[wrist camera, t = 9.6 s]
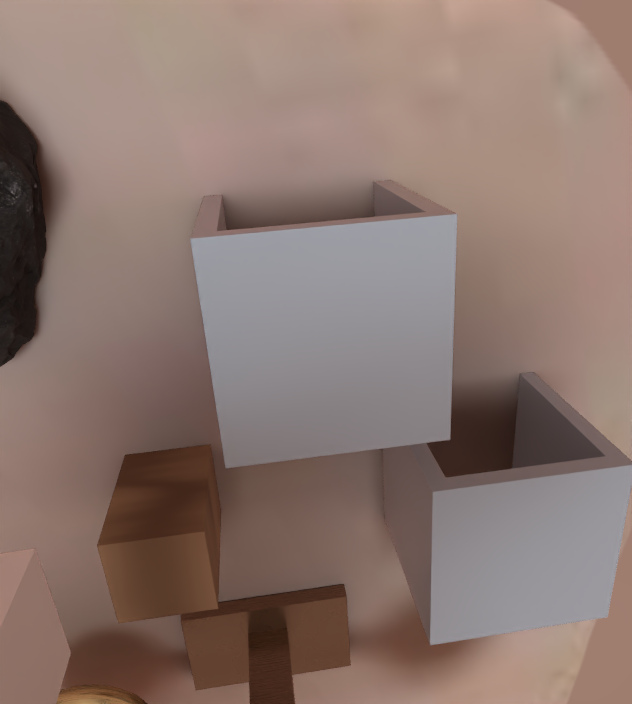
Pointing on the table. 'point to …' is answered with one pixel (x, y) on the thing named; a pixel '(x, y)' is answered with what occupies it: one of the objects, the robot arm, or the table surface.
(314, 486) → the table surface
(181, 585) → the block
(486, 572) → the cover
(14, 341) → the rock
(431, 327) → the cover
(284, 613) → the balance
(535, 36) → the table surface
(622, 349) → the table surface
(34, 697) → the robot arm
